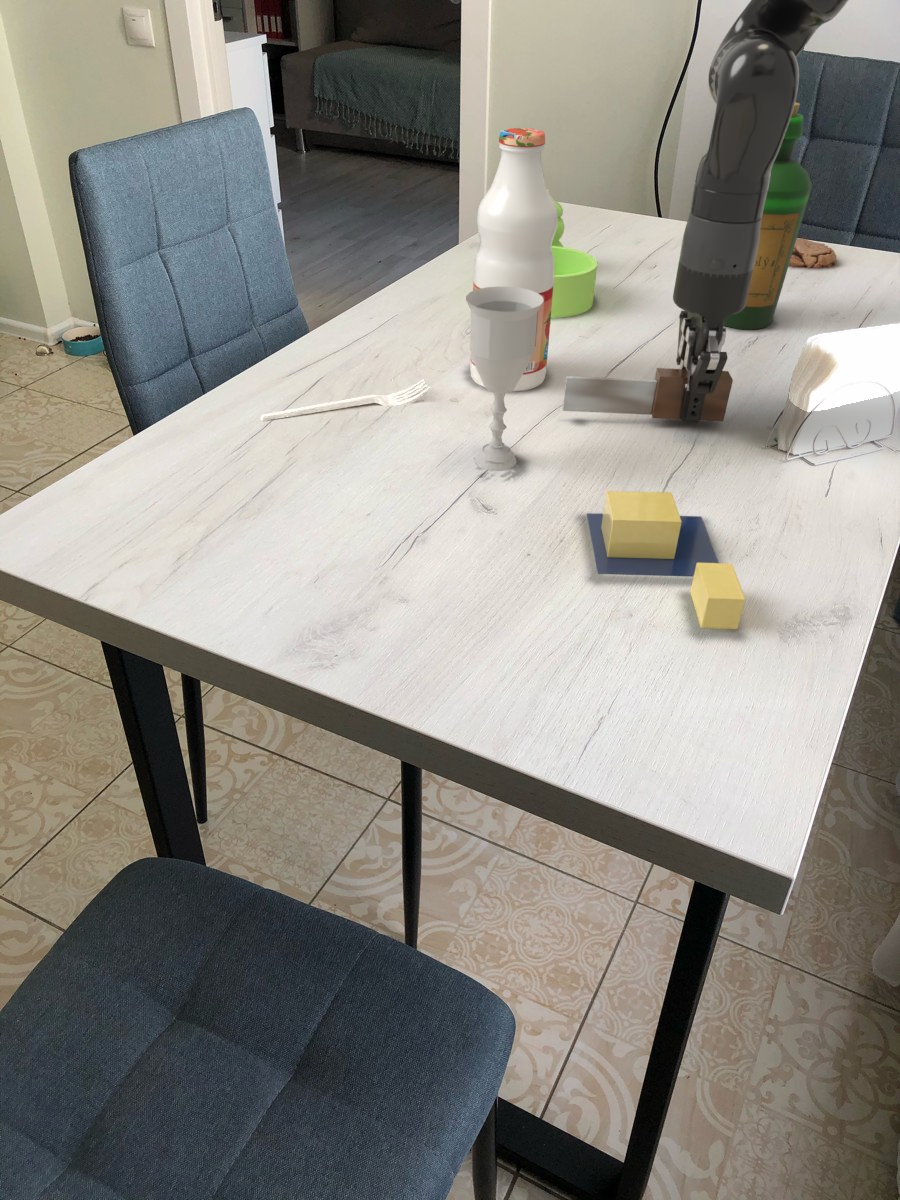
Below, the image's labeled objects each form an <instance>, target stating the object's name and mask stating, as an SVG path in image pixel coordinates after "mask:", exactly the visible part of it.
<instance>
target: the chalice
mask: <svg viewBox="0 0 900 1200" xmlns="http://www.w3.org/2000/svg"><path fill="white" fill-rule="evenodd" d="M465 301H466V304H467V305H468V307H469V309H470V336H469V350H470V355H471V354H472V357H473V360H474V364H475V367H476V369H477V371H478V373H479V375H480V378H481V380H482V382H483V384H484V386H485V387H484V388H485V389H486V390H487V391H489V392H491V393H493V397H494V400H493V403H492V404H493V405H492V406H491V407H490V412H491V413H492V417H493V418H492V421H491V422H490V424H489V425H488V428H489V429H490V430H491V435H492V437H491V441H489V443H486V444H484V445H483V446H482V447H481V448H480V449H479V450H478V451H477V453H478V454H477V455H476V457H475V458H474V462H475V464H476V465H477V466H478V467H480V468H481V469H484V470H487V471H492V472H493V471H494V472H501V471H507V470H510V469H512V468H513V467H515V466H516V465H517V458H516V457H515V452H514V451H513V450H512V449H511V447H509V445H507V444H505V442H504V441H503V437H502V436H503V433H504V431H505V430H506V429H507V425H506V424H505V423H504V415H505V413H506V412H507V410H508V409H507V407H506V406H505V405H506V404H505V396H506V394H508V393H510V392H513V391H512V390H513V389H514V388H515V386H516V385H517V383H518V381H519V380H520V378H521V376H522V375H523V373H524V371H525V370H526V368H527V366H528V363H529V361H530V359H531V357H532V354H533V352H534V345H535V332H536V319H537V311H538V310H539V308H540V306H541V305H542V303H543V297H542V296H541V295H539V294H538V293H536V292H534V291H531V290H527V289H523V288H517V287H486V288H481V289H477V290H474V291H473V290H472V291H470V292H468V294H466V296H465Z"/></svg>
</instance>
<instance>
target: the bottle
mask: <svg viewBox="0 0 900 1200" xmlns="http://www.w3.org/2000/svg"><path fill="white" fill-rule="evenodd" d="M800 106H801V103H799V102H796V101H795V105H794V109H793V112H792V116H791V119H790V122H789V125H788V128H787V130H786V133H785V136H784V139H783V141H782V144H781V147H780V150H779V152H778V154H777V157H776V159H775V161H774V164H773V166H772V170H771V176H770V183H769V188H768V193H767V197H766V202H765V207H764V211H763V216H762V221H761V230H760V241H759V246H758V251H757V256H756V260H755V265H754V269H753V274H752V278H751V283H750V288H749V292H748V297H747V301H746V306H745V308H744V309H743V310H742V311H741V312H739V313H737V314H735V315H730V316H728V317H726V318H725V319H724V321H723V322H724V326H723V327H727V328H732V329H735V330H749V331H750V330H751V331H755V330H759V329H764V328H767V327H769V326H770V325H771V324H772V323H773V321H774V316H775V313H776V310H777V306H778V303H779V300H780V296H781V294H782V289H783V286H784V283H785V280H786V276H787V272H788V269H789V267H790V266H789V263H790V259H791V256H792V252H793V249H794V246H795V242H796V239H798V236H799V232H800V229H801V225H802V221H803V218H804V215H805V211H806V208H807V205H808V201H809V199H810V194H811V192H812V188H813V184H812V181H811V179H810V175H809V173H808V171H807V170H806V169H805V168H804V167H803V166H802V165H801V164H800V163H799V162H798V161H797V160H796V158H793V153H794V150H795V148H796V144H797V140H798V139H800V138H802V137H803V133H804V115H803V114H800V113H798V111H799V108H800Z"/></svg>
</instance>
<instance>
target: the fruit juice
mask: <svg viewBox="0 0 900 1200" xmlns="http://www.w3.org/2000/svg"><path fill="white" fill-rule="evenodd" d="M498 144H499V145H498V147H499V149H500V153H501V154H500V158H499V159H500V160H499V163H498V166H497V169H496V173H495V175H494V177H493V180H492V182H491V185H490V187H489V189H488V190H487V192H486V193H485V195H484V197H483V198H482V199H481V201H480V203H479V205H478V207H477V213H476V227H477V233H478V236H479V247H478V249H477V252H476V254H475V258H474V263H473V273H472V274H473V276H472V285H473V286H472V291H474V290H477V289H481V288H486V287H517V288H523V289H527V290H531V291H534V292H536V293H538V294H539V295H541V296H542V297H543V303H542V305H541V306H540V308H539V310H538V311H537V319H536V332H535V345H534V352H533V354H532V357H531V359H530V361H529V363H528V366H527V368H526V370H525V371H524V373H523V375H522V376H521V378H520V380H519V381H518V383H517V385H516V386H515V388H514V389H513V390H512V391H511V392H524V391H529V390H532V389H535V388H537V387H539V386H540V385H542V384H543V382H544V380H545V378H546V374H547V365H548V354H549V353H548V352H549V341H550V331H551V320H552V318H551V308H552V297H553V286H554V272H555V263H554V256H553V253H552V249H551V246H552V241H553V238H554V235H555V233H556V229H557V224H558V212H557V208H556V205H555V203H554V201H553V199H554V198H553V197H552V196H551V194H550V191H549V192H548V190H549V189H548V187H547V184H546V180H545V179H546V178H545V176H544V175H545V174H544V170H543V163H542V152H543V151H544V149H545V144H546V134H545V132H544V131H542V130H540V129H536V128H530V127H509V128H504V129H501V130H500V132H499V136H498ZM547 189H548V190H547ZM469 369H470V376H471V379H472V380H473V381H474V382H475V383H476V384H478V385H479V386H481V387H484V388H485V386H484V384H483V382H482V380H481V378H480V375H479V373H478V371H477V369H476V367H475V364H474V360H473V357H472V354H471V353H470V365H469Z"/></svg>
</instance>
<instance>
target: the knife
mask: <svg viewBox="0 0 900 1200" xmlns="http://www.w3.org/2000/svg"><path fill="white" fill-rule="evenodd" d="M686 376H687V370H686V369H679V368H668V367H667V368H665V367H664V368H663V367H656V369H655V375H654V379H642V378H641V379H640V378H618V377H615V378H614V377H597V376H576V375H575V376H572V375H566V377H565V386H564V393H563V402H562V411H563V412H580V413H582V412H583V413H601V414H602V413H604V414H623V415H624V414H628V415H648V416H649V415H650V416H651V419H656V420H658V419H659V420H677V421H678V420H680V421H681V419H680V412H681V407H682V402H683V397H684V391H685V388H684V385H685V382H686ZM701 381H704V380H701ZM733 381H734V379H733V378H732V376H731V374H730V371H728V370H723V371H722V373H721V375H720V378H719V380H718V383H717V385H716V387H715V390H714V392H713V394H710V393H706V395H705V400H704V405H703V409H702V414H701V419H700V421H701V422H702V421H703V422H724V420H725V415H726V411H727V407H728V403H729V399H730V395H731V390H732V387H733V386H732V385H733Z"/></svg>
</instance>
